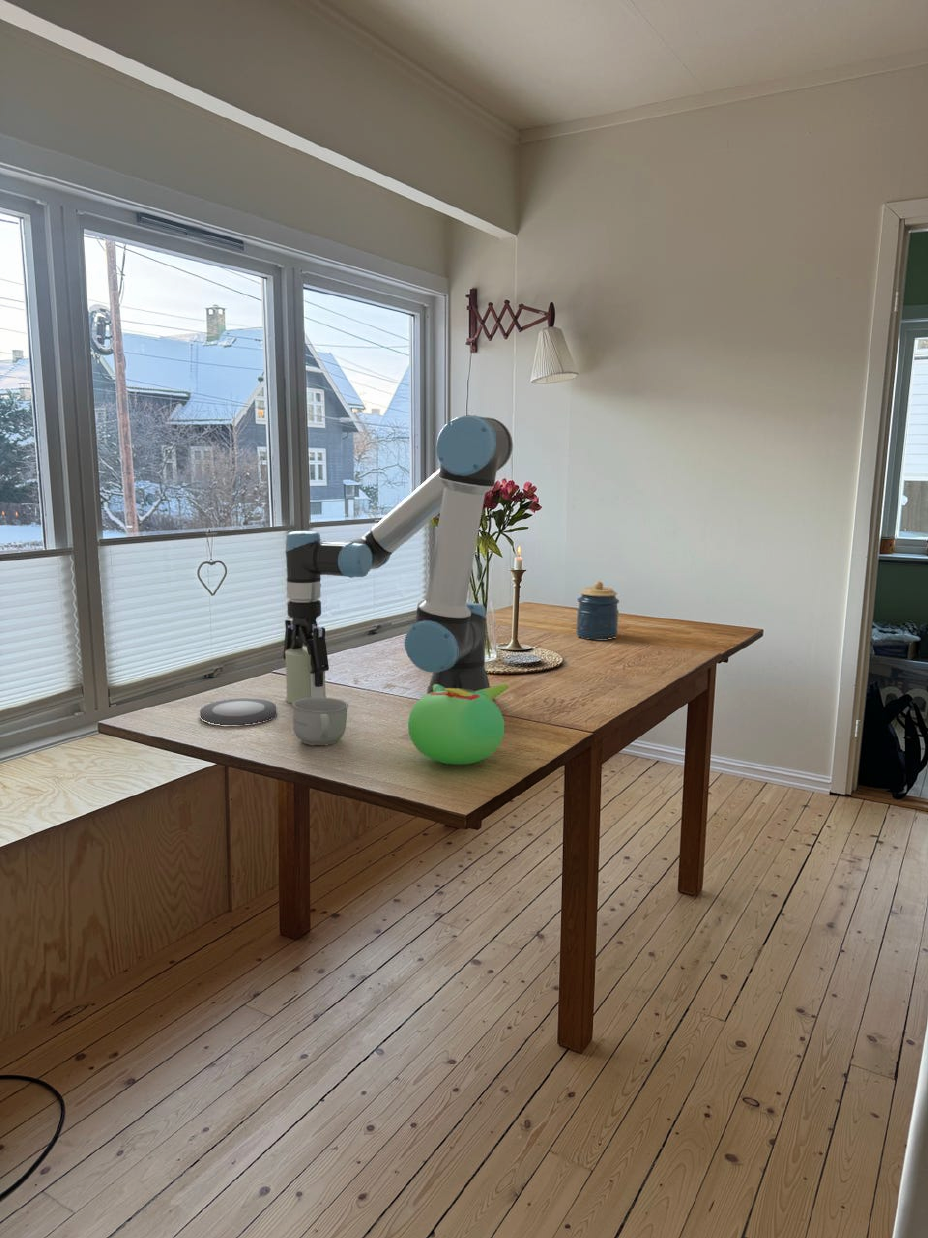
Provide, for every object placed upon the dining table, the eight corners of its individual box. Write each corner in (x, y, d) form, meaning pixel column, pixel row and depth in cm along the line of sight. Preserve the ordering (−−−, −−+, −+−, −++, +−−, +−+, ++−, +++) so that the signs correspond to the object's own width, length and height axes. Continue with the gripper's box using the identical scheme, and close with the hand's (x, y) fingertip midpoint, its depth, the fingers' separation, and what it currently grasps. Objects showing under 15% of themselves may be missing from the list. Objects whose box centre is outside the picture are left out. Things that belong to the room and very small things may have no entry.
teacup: (296, 733, 179) (295, 695, 178) (349, 732, 180) (349, 694, 178) (288, 756, 165) (287, 715, 164) (346, 755, 166) (345, 715, 165)
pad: (289, 717, 189) (289, 710, 189) (220, 731, 179) (220, 724, 179) (254, 700, 201) (254, 694, 201) (188, 713, 191) (187, 706, 191)
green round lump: (394, 768, 160) (394, 691, 157) (430, 740, 175) (430, 669, 173) (487, 782, 154) (488, 702, 151) (516, 752, 169) (517, 679, 166)
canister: (576, 631, 283) (578, 577, 280) (616, 633, 282) (619, 579, 278) (575, 640, 271) (577, 583, 267) (618, 642, 269) (620, 585, 266)
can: (317, 706, 198) (317, 654, 196) (279, 703, 200) (278, 652, 197) (332, 695, 207) (331, 645, 204) (295, 692, 209) (294, 643, 206)
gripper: (344, 604, 193) (345, 702, 197) (294, 591, 209) (296, 682, 213) (314, 607, 188) (316, 708, 193) (266, 594, 204) (269, 688, 209)
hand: (306, 695), depth 203 cm, fingers closed on can, 9 cm apart
